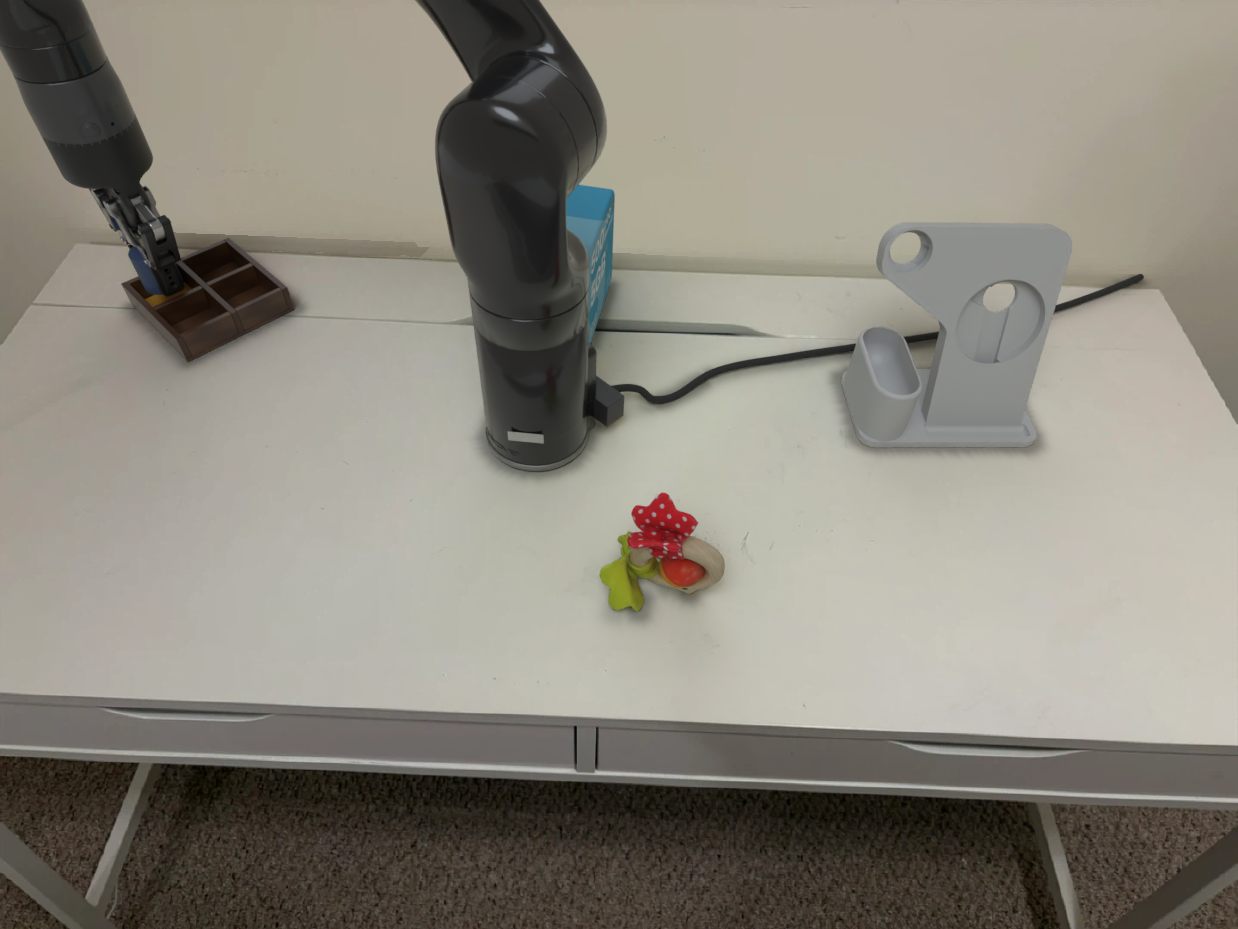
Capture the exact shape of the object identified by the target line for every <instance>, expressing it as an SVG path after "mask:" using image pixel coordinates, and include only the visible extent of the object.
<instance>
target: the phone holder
mask: <svg viewBox="0 0 1238 929" xmlns="http://www.w3.org/2000/svg"><path fill="white" fill-rule="evenodd" d="M907 233H913V234H915V235H917V237H918V239H919V241H920V247H919V251H918V253H917V254H916V256H915V257H914V258H913V259H911V260H910V261H907V262H903V263H902V262H901V263H899V262H896V261H894V260H893V259H892V256H891V247H892V245H893V244H894V242H895V241H896V239H897V238H899V237H900V236H901V235H903V234H907ZM1072 253H1073V240H1072V238H1071V236H1070V234H1069V233H1068V232H1067V231H1066V230H1063V229H1061V228H1059V227H1057V226H1055V225H1053V224H1050V223H1036V222H1035V223H1034V222H1033V223H1031V222H1030V223H1029V222H1028V223H1027V222H1026V223H1021V222H941V221H940V222H932V221H931V222H929V221H928V222H927V221H926V222H921V221H920V222H919V221H917V222H916V221H915V222H913V221H912V222H911V221H910V222H909V221H907V222H906V221H905V222H900V223H897V224H895V225H893V226H891V227H890V228H889V229H888V230H887V231H885V232H884V234H883V236H882V237H881V239H880V241H879V243H878V248H877V253H876V258H875V259H876V260H875V265H876V268H877V270H878V272H879V273H880V274H881V275H882V276H883V277H884V278H886V280H888V281H889V282H890V283H891V284H892V285H894V286H895V287H896V288H897V289H898V290H900V291H901V292H902V293H904V294H905V296H907V297H908V298H910V299H911V300H912V301H913V302H915V303H916V304H917V305H918V306H919V307H920V308H922V310H924V311H926V312H927V313H928V314H929V315H930V316H931V317H933V318H934V319H935V320H936V321H937V322H938V324H939V330H938V331H939V335H938V339H936V344H935V348H934V353H933V357H932V361H931V365H930V368H917V365H916V363H915V360H914V358H913V356H912V353H911V351H910V350H911V349H910V348H909V346H908V344H907V342H906V340H905V339H904V337H905V336H903V335H902V334H901V333H900V332H898V331H897V330H895V329H893V328H890V327H886V326H882V325H881V326H880V325H879V326H878V325H875V326H870V327H867V328H865V329H863V330H862V331H861V332H860V333H859V335H858V337H857V341H856V343H855V344H856V346H855V349H854V351H852V355H851V358H850V360H849V364H848V366H847V369H846V370H845V371H844V372H843V373H842V377H841V379H840V384H841V388H842V391H843V395H844V397H845V401H846V405H847V408H848V412H849V414H850V417H851V421H852V424H853V428H854V431H855V434H856V437H857V439H858V441H859V442H860V443H861V444H863V445H864V446H867V447H869V448H1028V447H1030V446H1032V445H1033V443H1034V442H1035V441H1036V439H1037V437H1038V433H1037V430H1036V428H1035V426H1034V424H1033V422H1032V420H1031V418H1030V416H1029V414H1028V412H1027V410H1026V407H1027V404H1028V401H1029V397H1030V394H1031V391H1032V387H1033V384H1034V381H1035V377H1036V374H1037V370H1038V368H1039V365H1040V361H1041V357H1042V354H1043V351H1044V347H1045V344H1046V340H1047V337H1048V333H1049V331H1050V327H1051V323H1052V320H1053V316H1054V314H1055V313H1054V310H1055V307H1056V305H1057V303H1058V300H1059V296H1060V293H1061V289H1062V287H1063V283H1064V280H1065V276H1066V273H1067V270H1068V266H1069V262H1070V259H1071V257H1072ZM1000 283H1009V284H1010V285H1012V287H1013V289H1014V296H1013V299H1012V301H1011V302H1010V303H1009V304H1008V305H1007V306H1006V307H1005V308H1004V309H1001V310H998V311H992V310H988V309H987V307H986V306H985V303H984V296H985V293H986V291H987V290H988V289H989V288H992V287H994V286H995V285H997V284H1000Z"/></svg>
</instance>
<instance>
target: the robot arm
mask: <svg viewBox="0 0 1238 929" xmlns="http://www.w3.org/2000/svg"><path fill="white" fill-rule="evenodd" d="M414 1H415V3H416V4H417V5H418V6H419V7H420V8H421V9H422V10H423V12H425V14H426V15H427V16H428V17H429V19H430V20H431V21H432V22H433V24H434V25H435V26H436V28H437V29H438V30H439V32H440V33H441V35H442V36H443V38H444V39H445V41H446V42H447V44H448V45H449V47H450V48H451V50H452V51H453V53H454V55H455V56H456V58H457V59H458V61H459V62H460V64H461V66H462V68H463V69H464V71H465V73H466V75H467V76H468V78H469V80H470V83H469V84H468V85H467V86H465V87H464V88H463V89H462V90H461V91H460V92H459V93H457V94H456V95H455V96H454V97H453V98H452V99H451V100H450V101H449V102H448V103H447V104H446V105H445V107H444V108H443V109H442V111H441V113H440V115H439V118H438V120H437V124H436V128H435V135H434V157H435V167H436V174H437V180H438V185H439V190H440V195H441V200H442V204H443V210H444V215H445V221H446V225H447V232H448V236H449V241H450V243H451V249H452V252H453V255H454V256H455V259H456V262H457V263H458V265H459V267H460V268H461V270H462V272H463V274H465V276H466V281H467V286H468V294H469V301H470V310H471V317H472V324H473V332H474V341H475V348H476V356H477V357H476V358H477V364H478V373H479V379H480V381H479V382H480V388H481V396H482V404H483V413H484V420H485V437H486V438H485V439H486V442H487V446H488V447H489V450H490V451H491V453H493V455H494V457H496V458H497V459H498V460H499V461H501V462H502V463H504V464H506V465H507V466H510V467H512V468H513V469H518V470H520V471H526V472H527V471H528V472H544V471H551V470H555V469H557V468H560V467H561V468H562V467H563V466H565V465H567V464H569V463H571V462H572V461H573V460H575V459H576V458H578V456H579V455H580V454H581V453H582V452H583V450H584V449H585V447H586V445H587V442H588V440H589V432H590V431H591V430H592V429H593V428H595V427H596V421H598V422H599V423H600V424H602V425H603V426H604V427H606V428H608V427H610V426H611V425H612V424H613V423H615V422H617V421H618V420H619V419H621V418H623V416H624V412H625V398H626V396H625V395H624V394H623V393H635V394H639V395H640V396H641V397H642V398H643V399H644V400H646V402H649V403H651V404H655V405H660V404H661V405H662V404H668V403H671V402H674V401H677V400H679V399H680V398H682V397H684V396H686V395H687V394H689V393H690V392H692V391H693V390H694V389H695V388H697V387H698V386H700V385H701V384H703V383H704V382H706V381H708V380H710V379H711V378H713V377H716V376H718V375H721V374H725V373H729V372H733V371H737V370H741V369H746V368H752V367H757V366H765V365H772V364H778V363H786V362H791V361H796V360H803V359H810V358H816V357H823V356H829V355H837V354H844V353H850V352H854V349H855V346H856V343H849V344H842V345H835V346H827V347H821V348H815V349H808V350H800V351H795V352H789V353H782V354H777V355H770V356H763V357H756V358H749V359H743V360H740V361H739V360H738V361H735V362H731V363H727V364H723V365H720V366H716V367H713V368H711V369H709V370H707V371H704V372H702V374H699V375H698V376H697V377H695V378H693V379H692V380H690V382H687V384H686V385H684V386H682V387H681V388H680V389H678V390H676V391H674V392H672V393H669V394H665V395H653V394H652V393H650V391H649V390H648V389H646V388H645V387H644V386H642V385H639V384H636V383H635V384H634V383H621V384H613V385H610V384H609V383H607V382H606V381H605V380H603V379H602V378H600V377H599V376H598V375H597V368H598V367H597V366H598V364H597V363H598V360H597V358H598V352H597V349H596V348H595V347H594V346H593V345H592V344H591V343H590V344H589V343H588V342H589V257H588V253H587V250H586V247H585V245H584V244H583V242H582V241H581V240H580V239H579V237H577V236H576V235H575V234H574V233H573V232H571V231H570V230H568V229H567V222H566V205H567V198H568V197H569V196H570V194H571V193H572V192H573V191H574V190H575V188H576V187H577V186H578V185H580V184H581V182H582V181H583V180H584V179H585V178H586V177H587V175H588V174H589V173H590V171H591V170H592V169H593V168H594V166H595V165H596V163H597V162H598V160H599V159H600V157H601V155H602V153H603V150H604V148H605V145H606V142H607V136H608V120H607V119H608V118H607V112H606V108H605V105H604V102H603V99H602V96H601V93H600V91H599V89H598V86H597V85H596V83H595V80H594V79H593V78H592V75H591V74H590V72H589V71H588V69H587V67H586V65H585V64H584V63H583V61H582V59H581V58H580V56H579V54H578V53H577V51H576V50H575V49H574V47H573V46H572V45H571V43H570V42H569V40H568V38H567V37H566V36H565V35H564V33H563V32H562V30H561V29H560V28H559V25H558V24H557V23H556V21H555V20H554V18H553V17H552V16H551V15H550V13H549V12H548V10H547V9H546V7H545V6H544V4H543V3H542V2H541V0H414ZM0 53H1V55H2V57H3V59H4V61H5V62H6V64H7V66H8V68H9V70H10V72H11V74H12V76H13V78H14V80H15V83H16V86H17V88H18V91H19V94H20V97H21V99H22V101H23V102H22V103H23V104H24V106H25V108H26V110H27V111H28V114H29V116H30V117H31V120H32V121H33V123H34V125H35V126H36V129H37V131H38V133H39V134H40V137H41V138H42V140H43V142H44V145H45V146H46V148H47V150H48V151H49V153H50V155H51V157H52V159H53V161H54V163H55V165H56V167H57V168H58V170H59V173H60V174H61V176H62V178H63V179H64V180H65V181H66V182H67V183H69V184H71V185H73V186H75V187H77V188H81V189H88V190H89V192H90V194H91V195H92V197H93V199H94V201H95V202H96V204H97V206H98V207H99V209H100V211H101V213H102V214H103V216H104V217H105V220H106V221H107V222H108V226H109V228H110V229H111V230H113V232H115V233H116V232H117V233H118V235H119V240H120V242H122V243H123V244H124V245H126V246H127V247H128V249H129V250H130V249H131V248H132V247H133V246H135V247H137V248H138V250H139V251H140V253H141V255H142V257H143V259H144V263H145V264H146V265H148V267H149V269H150V271H151V274H152V276H153V278H154V280H155V282H156V284H157V286H158V288H159V290H160V292H161V293H162V294H163V295H164V296H171V295H173V294H175V293H178V292H180V291H182V290H183V289H184V288H185V285H184V283H183V280H182V278H181V276H180V274H179V272H178V269H177V267H176V265H175V263H176V262H178V261H180V260H181V258H182V256H181V254H180V250H179V247H178V246H179V245H178V243H177V239H176V237H175V233H174V229H173V225H172V221H171V220H170V218H169V217H167V215H166V214H163V215H160V212H159V210H158V209H157V207H156V205H157V200H156V199H155V196H154V195H153V193H152V191H151V189H150V188H149V187H148V186H147V185H145V184H144V185H142V184H141V180H142V178H143V176H145V174H146V173H147V172H148V171H149V170H150V169H151V167H152V165H153V162H154V156H153V152H152V149H151V148H150V145H149V142H148V141H147V138H146V136H145V133H144V131H143V129H142V126H141V124H140V122H139V120H138V117H137V115H136V112H135V110H134V108H133V106H132V103H131V101H130V98H129V96H128V94H127V91H126V89H125V86H124V84H123V83H122V80H121V79H120V76H119V75H118V74H117V72H116V70H115V68H114V67H113V65H112V63H111V61H110V59H109V57H108V56H107V53H106V50H105V48H104V46H103V43H102V42H101V39H100V37H99V34H98V32H97V30H96V27H95V25H94V23H93V21H92V18H91V16H90V13H89V11H88V9H87V7H86V4H85V3H84V1H83V0H0ZM129 250H128V251H129ZM1144 279H1145V276H1144V274H1142V273H1138V274H1136V275H1133V276H1130V277H1129V278H1126V279H1124V280H1122V281H1119V282H1117V283H1114V284H1112V285H1109V286H1107V287H1104V288H1102V289H1099V290H1096V291H1093V292H1090V293H1088V294H1085V295H1082V296H1079V297H1077V298H1074V299H1070V300H1067V301H1065V302H1061V303H1058V304H1056V307H1055V310H1054V313H1053V314H1055V313H1058V312H1061V311H1065V310H1068V309H1071V308H1074V307H1075V306H1079V305H1082V304H1085V303H1087V302H1090V301H1093V300H1095V299H1098V298H1101V297H1103V296H1106V295H1109V294H1112V293H1113V292H1116V291H1119V290H1121V289H1124V288H1126V287H1129V286H1131V285H1134V284H1135V283H1138V282H1140V281H1143V280H1144ZM938 335H939V330H938V331H931V332H927V333H919V334H915V335H908V336H907V335H906V336H903V337H904V339H905V340H906V342H907V345H908V344H913V343H921V342H926V341H927V342H928V341H932V340H937V339H938Z"/></svg>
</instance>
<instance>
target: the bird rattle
mask: <svg viewBox="0 0 1238 929" xmlns="http://www.w3.org/2000/svg"><path fill="white" fill-rule="evenodd" d="M631 518H632V520H633V523H634V524H635V526H636V527H637V528H638V529H639V530H640V531H633V532H631V531H629V530H628V531H627V532H626V533H625V534H621V535H619V536H618V537H617V542H618V543H619V545H621V548H620V553H621V557H620V558H618V559H616V560H614V561H612V562H611V563H608V564H605V565H604V566H603V567H601V569H600V572H599V578H600V581H601V582H602V583H603V585H604V586H606V587H607V588H609V593H608V600H607V601H608V606H609V607H611V608H612V610H614V611H621V610H624V609H626V608H629V607H631V608H632V610H633V611H634V612H636V613H637V612H640V611H641V610H642V609H643V606H644V603H645V597H644V595H643V592H642V590H641V586H640V584H639V581H638V577H639V578H641V579H646V580H648V581H649V582H652V583H654V584H657V585H659V586H662V587H665V588H669V589H674V590H678V591H681V592H683V593H685V594H687V595H691V594H693V593H695V592H696V591H700V590H704V589H708V588H710V587H713V586H714V585H716V584H718V583H719V582H720V581H721V580H722V578H723V576H724V573H725V568H726V562H725V558H724V556H723V554H722V553H721V551H719V549H718V548H717V547H715V546H713V545H712V544H711V543H709V542H707V541H705V540H703V539H702V538H698V537H695V536H693V535H692V534H693V532H694V531H695V530H696V528H697V527H698V525H699V522H698V521H697V519H696V518H695V517H694V515H692V514H691V513H688V512H685V511H681V510H678V509H677V506H676V505H675V503H674V501H673V499H672V498H671V497H670V495H669V494H668V493H667V492H660V493H659V494H657V496H655V497H654V498H653V500H652V501H651V502H650V504H649V505H639V504H637V505H635V506H634V507H633V508H632V510H631Z"/></svg>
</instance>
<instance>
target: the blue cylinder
mask: <svg viewBox="0 0 1238 929" xmlns="http://www.w3.org/2000/svg"><path fill="white" fill-rule="evenodd" d="M127 257H128V258H129V261H130V262H131V265H132V266H133V268H134V271H135V272H136V274H137V277H138V276H139V278H140V280H141V282H142V284H143V286H144V288H145V290H146V291H147V292H148V293H150V294H154V295H163V294H162V293H161V292H160V290H159V288H158V286H157V284H156V282H155V280H154V278H153V276H152V274H151V271H150V269H149V267H148V265H146V264H145V263H144V259H143V257H142V255H141V253H140V251H139V250H138V248H137V247H135V246H133V247H132V248H131V249H130V250H128V253H127ZM175 265H176V264H175ZM176 267H177V266H176ZM177 269H178V268H177ZM178 272H179V270H178ZM179 274H180V272H179ZM180 276H181V275H180ZM181 278H182V277H181ZM182 280H183V279H182Z"/></svg>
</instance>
